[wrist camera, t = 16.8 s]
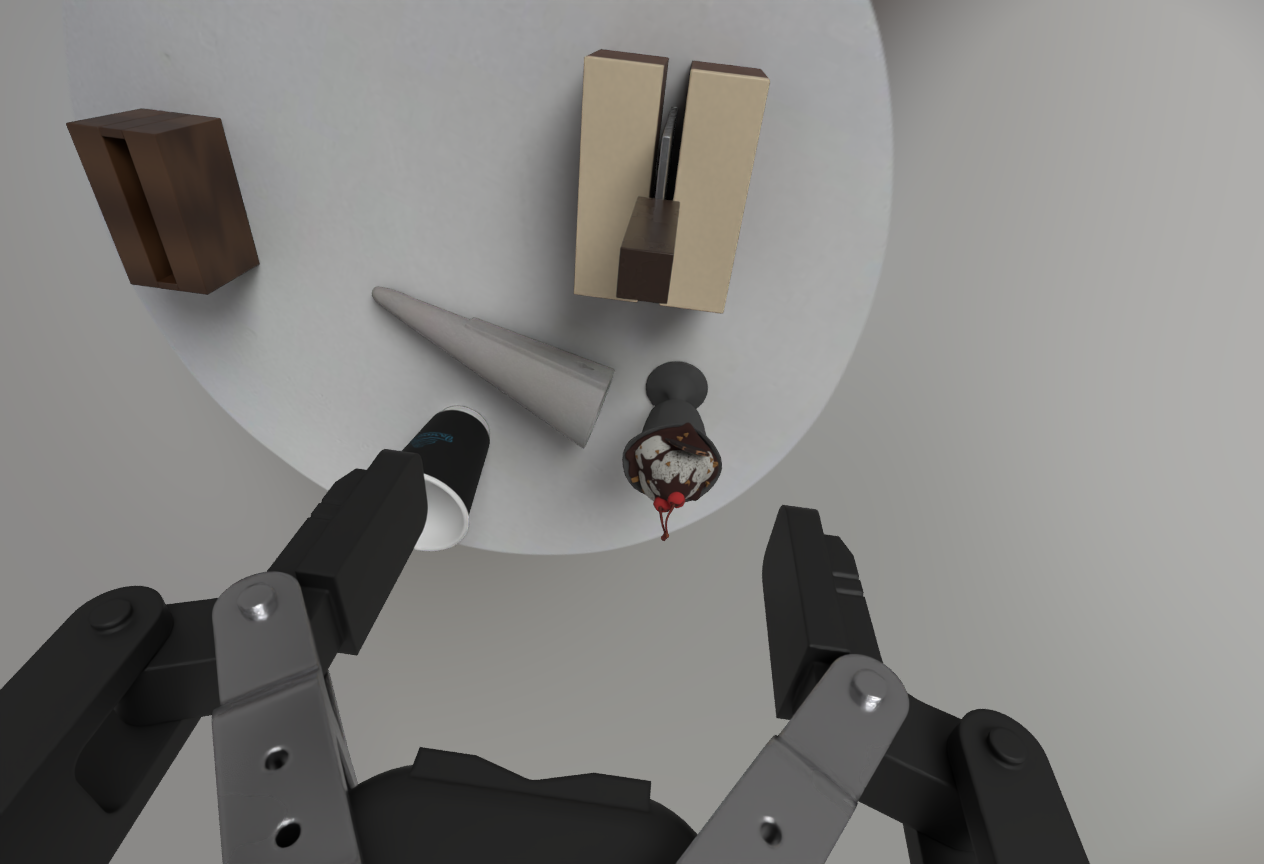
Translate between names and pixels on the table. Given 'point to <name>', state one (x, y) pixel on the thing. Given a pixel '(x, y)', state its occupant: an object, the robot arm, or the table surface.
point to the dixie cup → (450, 473)
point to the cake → (626, 166)
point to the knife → (651, 236)
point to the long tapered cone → (513, 364)
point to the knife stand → (168, 197)
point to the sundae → (673, 442)
